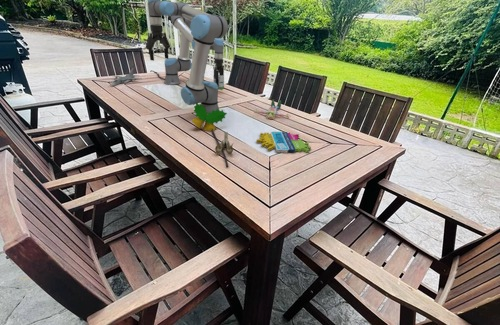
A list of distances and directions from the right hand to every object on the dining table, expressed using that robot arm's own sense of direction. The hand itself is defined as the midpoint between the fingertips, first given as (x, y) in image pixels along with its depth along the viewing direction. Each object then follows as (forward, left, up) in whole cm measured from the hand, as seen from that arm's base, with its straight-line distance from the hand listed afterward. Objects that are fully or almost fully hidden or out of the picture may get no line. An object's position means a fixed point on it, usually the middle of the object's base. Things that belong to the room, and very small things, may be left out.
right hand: (159, 59), depth 181 cm
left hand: (+35, -47, -26) cm, 65 cm away
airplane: (+80, +37, -34) cm, 94 cm away
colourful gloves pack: (-74, -66, -34) cm, 105 cm away
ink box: (+35, -47, -29) cm, 66 cm away
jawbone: (-80, -31, -34) cm, 92 cm away
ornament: (-48, -28, -34) cm, 64 cm away
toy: (-23, -79, -34) cm, 89 cm away
